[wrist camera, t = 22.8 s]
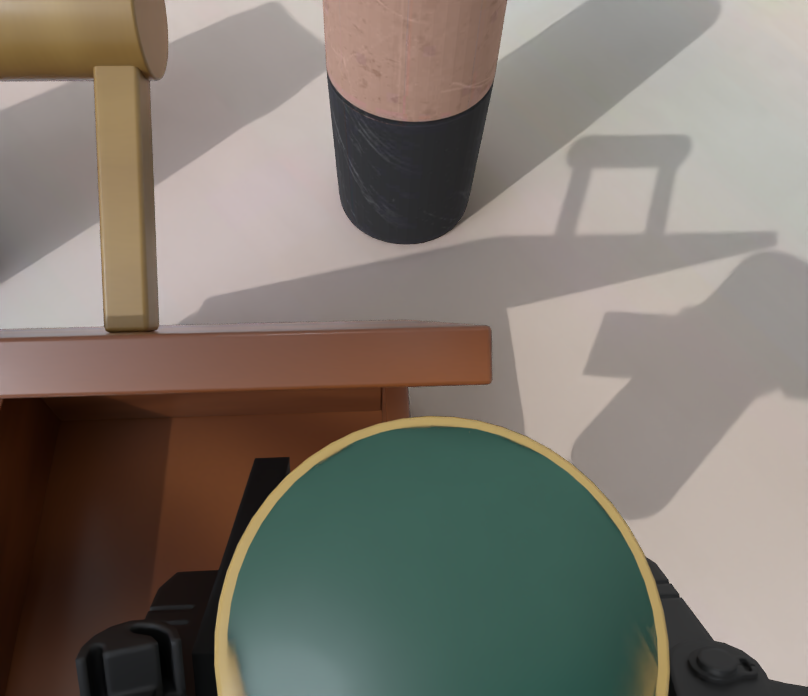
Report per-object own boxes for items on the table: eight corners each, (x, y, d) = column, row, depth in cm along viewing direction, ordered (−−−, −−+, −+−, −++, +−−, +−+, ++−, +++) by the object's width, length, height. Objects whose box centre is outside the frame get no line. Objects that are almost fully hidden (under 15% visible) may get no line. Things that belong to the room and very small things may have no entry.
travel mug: (354, 262, 38) (339, -169, 20) (320, 158, 41) (283, -282, 24) (492, 233, 39) (586, -195, 22) (447, 134, 43) (498, -298, 25)
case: (426, 870, 25) (440, 895, 20) (-54, 903, 24) (-168, 938, 19) (400, 401, 34) (405, 335, 29) (51, 412, 33) (-8, 345, 28)
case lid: (493, 385, 10) (484, -136, 9) (-796, 422, 9) (-851, -154, 9) (405, 340, 28) (401, 164, 28) (-13, 350, 27) (-21, 168, 27)
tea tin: (518, 821, 16) (727, 883, 7) (297, 836, 16) (191, 924, 6) (492, 594, 19) (619, 408, 9) (300, 603, 18) (228, 420, 9)
